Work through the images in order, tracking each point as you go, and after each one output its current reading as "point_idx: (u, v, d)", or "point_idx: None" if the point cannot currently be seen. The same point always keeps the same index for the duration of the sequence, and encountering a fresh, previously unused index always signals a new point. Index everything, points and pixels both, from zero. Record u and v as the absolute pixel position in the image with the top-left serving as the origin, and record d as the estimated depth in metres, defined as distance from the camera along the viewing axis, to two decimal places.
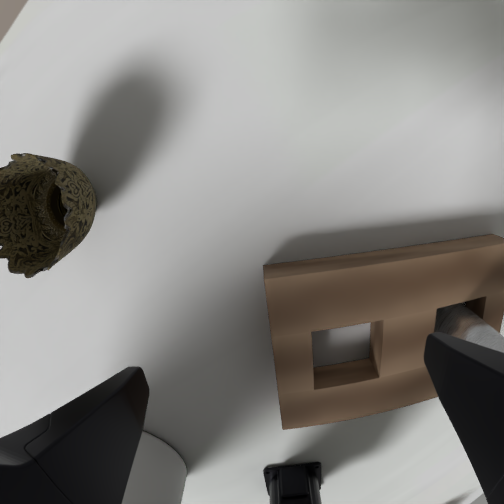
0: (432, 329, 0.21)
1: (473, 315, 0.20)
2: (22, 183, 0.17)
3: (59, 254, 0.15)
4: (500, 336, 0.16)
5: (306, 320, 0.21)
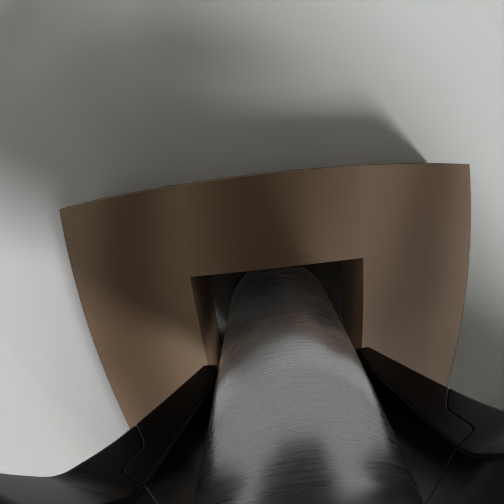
0: None
1: None
2: None
3: None
4: (205, 443, 0.06)
5: None
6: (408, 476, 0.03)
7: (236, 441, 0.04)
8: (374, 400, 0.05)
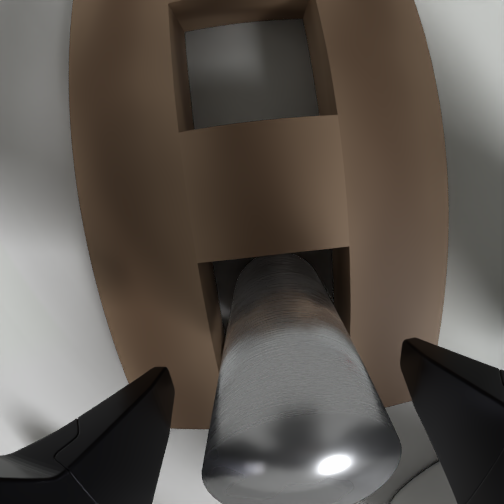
0: (232, 129, 0.10)
1: None
2: None
3: None
4: None
5: (201, 390, 0.13)
6: (385, 417, 0.05)
7: (243, 386, 0.06)
8: (357, 360, 0.07)
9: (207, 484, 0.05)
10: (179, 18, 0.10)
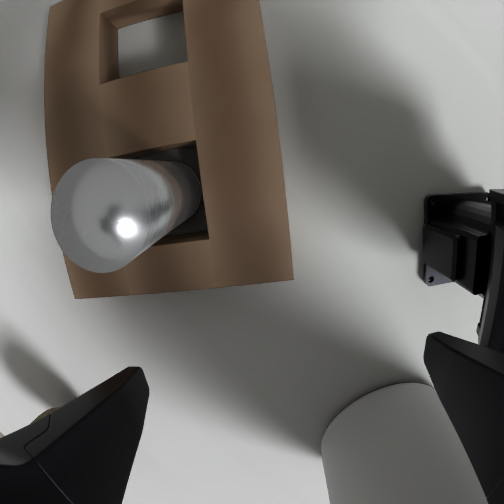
0: (127, 78, 0.15)
1: None
2: None
3: None
4: None
5: None
6: (133, 172, 0.10)
7: None
8: (150, 170, 0.12)
9: (53, 224, 0.10)
10: (110, 20, 0.15)
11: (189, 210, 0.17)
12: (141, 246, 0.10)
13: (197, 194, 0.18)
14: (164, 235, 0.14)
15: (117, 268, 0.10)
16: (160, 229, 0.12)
